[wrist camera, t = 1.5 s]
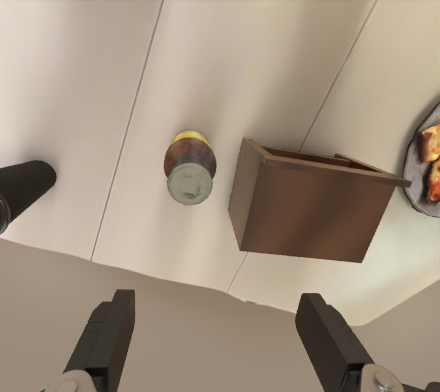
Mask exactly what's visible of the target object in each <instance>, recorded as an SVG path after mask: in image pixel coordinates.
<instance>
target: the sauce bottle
mask: <svg viewBox="0 0 440 392" xmlns="http://www.w3.org/2000/svg"><path fill="white" fill-rule="evenodd" d="M164 172H165V175H166V176H167V178H168V180H167V186H168V190H169V192H170V194H171V196H172V197H173V198H174V199H175V200H176V201H177V202H179V203H182V204H184V205H194V204H199V203H201V202H202V201H204V200H205V199H206V198H207V197H208V196H209V195H210V193H211V190H212V184H213V182H212V179H213V177H214V175H215V172H216V159H215V155H214V153H213V151H212V149H211V147H210V145H209V143H208V141H207V140H206V138H205V137H204V136H203V135H201V134H200V133H198V132H196V131H185V132H182V133H180V134H178V135H177V136H176V137H175V138H174V140H173V141H172V143H171V144H170V146H169V148H168V150H167V152H166V155H165V160H164Z"/></svg>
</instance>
